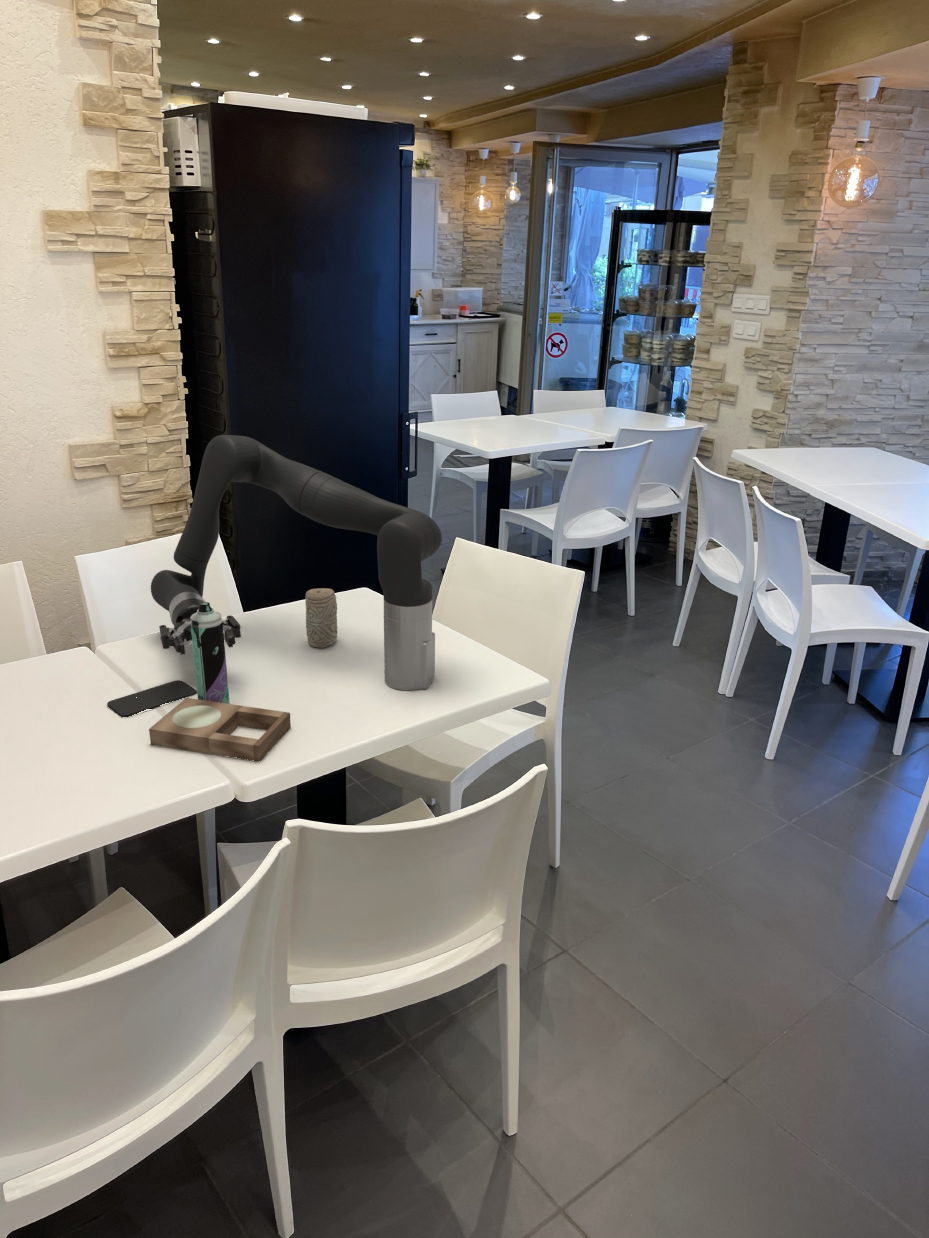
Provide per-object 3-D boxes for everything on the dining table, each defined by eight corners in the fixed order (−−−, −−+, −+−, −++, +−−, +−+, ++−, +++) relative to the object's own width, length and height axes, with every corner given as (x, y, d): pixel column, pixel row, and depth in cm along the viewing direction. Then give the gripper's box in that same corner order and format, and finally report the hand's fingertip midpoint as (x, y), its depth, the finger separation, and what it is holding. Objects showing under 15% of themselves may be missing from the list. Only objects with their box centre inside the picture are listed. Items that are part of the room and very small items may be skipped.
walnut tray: (290, 727, 158) (289, 711, 157) (259, 762, 147) (258, 745, 146) (188, 712, 162) (186, 696, 161) (150, 744, 151) (148, 728, 150)
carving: (301, 648, 190) (298, 595, 185) (316, 635, 196) (314, 583, 192) (328, 652, 188) (326, 598, 183) (343, 639, 195) (341, 587, 190)
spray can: (222, 713, 162) (213, 610, 155) (193, 710, 163) (183, 607, 155) (234, 699, 167) (225, 599, 160) (206, 696, 168) (196, 596, 160)
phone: (199, 691, 169) (123, 716, 159) (199, 695, 170) (124, 720, 160) (179, 678, 174) (104, 702, 164) (179, 682, 174) (104, 706, 164)
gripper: (151, 602, 172) (164, 633, 158) (226, 593, 178) (245, 621, 164) (155, 639, 175) (168, 671, 161) (229, 628, 181) (248, 658, 167)
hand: (207, 646), depth 163 cm, fingers open, 8 cm apart
